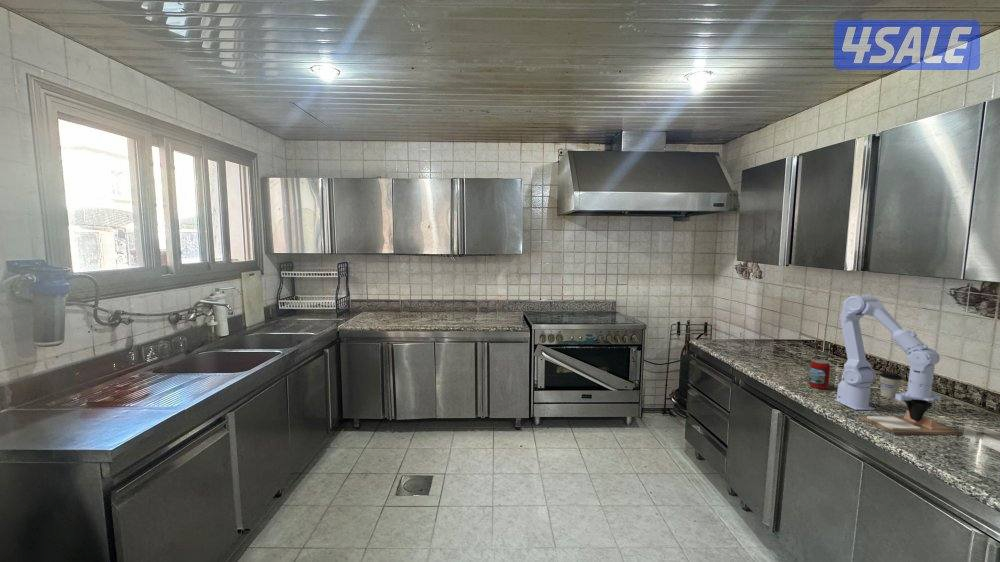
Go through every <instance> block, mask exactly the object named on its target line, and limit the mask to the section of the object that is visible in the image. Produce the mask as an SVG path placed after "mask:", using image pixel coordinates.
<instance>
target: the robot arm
mask: <svg viewBox="0 0 1000 562" xmlns="http://www.w3.org/2000/svg"><path fill="white" fill-rule="evenodd" d="M842 305H843V307H842V310H841V311H840V314H839V317H840V325H841V329H842V334H843V335H842V336H843V341H844V347H845V352H846V358H847V361H845V363H844V365H843V373H842V378H843V380H841V381H840V382H839V383H838V385H837V392H836V398H834V401H835V402H838V403H839V404H842V405H844V406H846V407H848V408H851V409H853V410H855V411H875V410H876V408H874V407H873V406H872V407H871V406H869V404H870V396H871V388H872V383H873V382H875V381H876V379H877V374H876V371H874V369H873V368H872V364H871V363H870V361H868V360H867V357H866V352H865V347H864V346H865V345H864V341H863V337H862V336H863V335H862V330H861V323H860V320H861V318H863V317H864V316H869V317H873V318H875V319H876V320H877V321H878V322H879V323H880V324H881V325H882V326H883V327H884V328H885V329H886V330H888V331H889V332H890V334H892V337H891V338H892V340H893V341H894V343H895V344H897V346H898V347H899V348H900V349H901V350H902V351H903V352H904V353H905V354H906V355H907V357H906V359H907V361H908V362H909V364H910V367H909V373H908V382H907V388H906V391H905V392H902V393H900V392H899V393H897V394H896V396H895V398H894V400H897V401H899V402H904V403H905V405H906V407H907V410H909V413H910V418H911V419H913V420H915V421H920V420H921V418H922V416H923V415H924V416H925V413H926V412H927V411H928V410H929V409H930V408H932V406H933V403H932V402H934V401H935V402H941V401H942V395H940V394H936V393H932V389H933V382H934V375H935V366H936V365H937V364H938V363H939V362H940V361H941V358H940V355H939V353H938V352H937V350H935V349H933V348H930V347H929V346H928V345H927V344H925V343H923V341H921V340H920V338H918V337H917V336H918V334H917V333H916V332H912V331H911V330H909V329H904V328H903V327H902V326H901V325H900V324H899V323H898V321H897V320H896V319H895V318H894V317H893V316H892V315H891V314H890V313H889V311H888V310H887V309H886V308H885V306H884V304H883V303H882V302H881V301H879V300H878V298H877V297H876V296H874V295H870V294H869V295H867V294H866V295H851V296H849V297H847V298H846V299H845V300H844V301H843V302H842Z"/></svg>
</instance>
